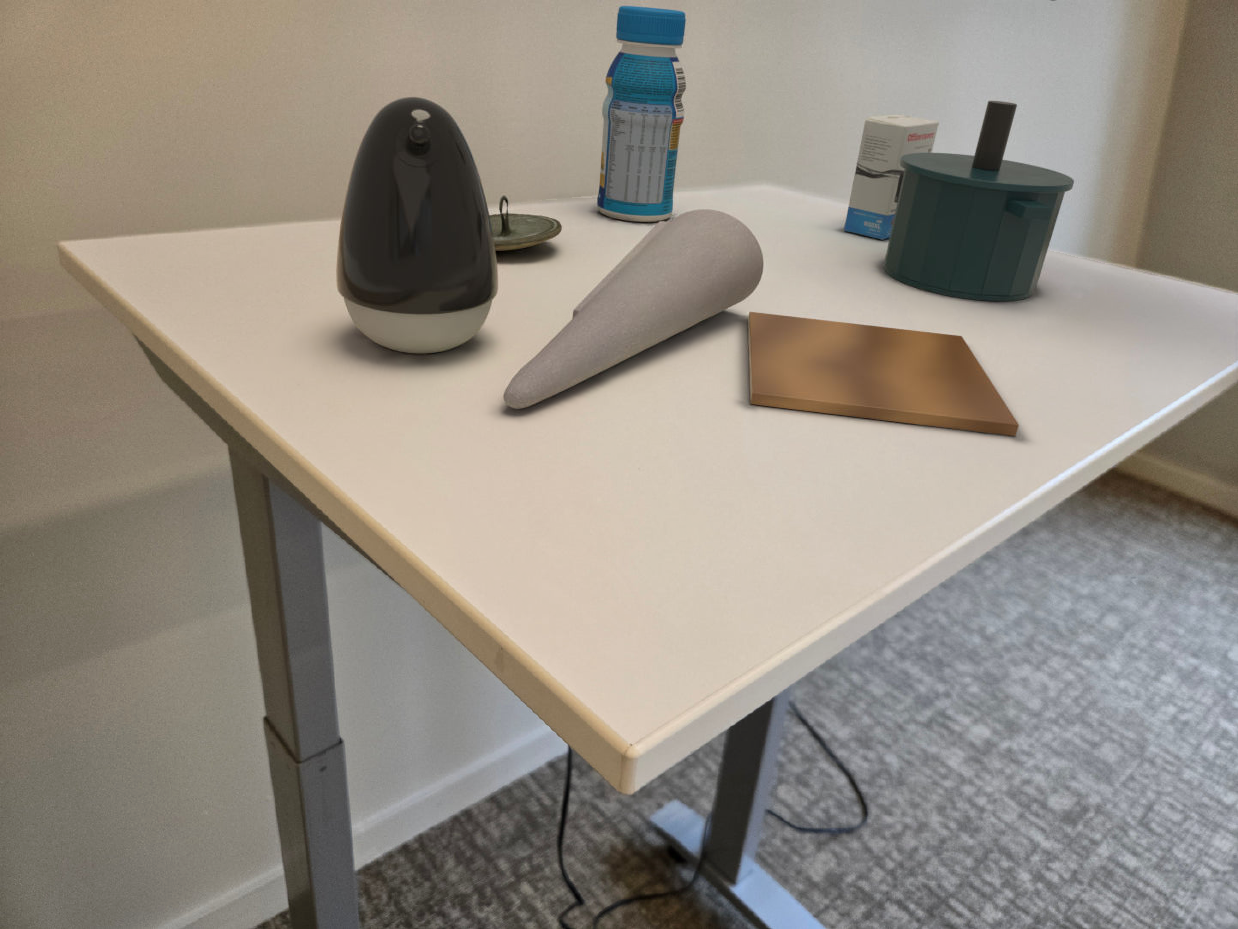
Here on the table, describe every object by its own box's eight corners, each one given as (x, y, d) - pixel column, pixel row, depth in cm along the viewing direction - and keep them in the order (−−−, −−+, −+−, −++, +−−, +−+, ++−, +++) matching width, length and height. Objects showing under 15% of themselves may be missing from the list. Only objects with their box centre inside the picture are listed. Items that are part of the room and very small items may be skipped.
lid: (574, 275, 83) (588, 219, 81) (477, 256, 76) (491, 195, 75) (517, 249, 90) (529, 198, 89) (424, 230, 84) (436, 175, 83)
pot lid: (1014, 170, 91) (1034, 97, 87) (1105, 204, 78) (1132, 120, 75) (873, 161, 88) (888, 86, 85) (943, 195, 75) (964, 108, 72)
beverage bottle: (621, 225, 94) (639, 8, 85) (581, 206, 101) (593, 2, 91) (688, 221, 99) (712, 14, 89) (645, 203, 105) (664, 8, 95)
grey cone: (639, 372, 48) (770, 220, 67) (492, 335, 50) (660, 199, 70) (630, 493, 52) (756, 317, 72) (495, 453, 54) (652, 293, 74)
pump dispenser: (337, 371, 56) (320, 104, 49) (342, 314, 65) (328, 81, 57) (506, 369, 58) (512, 115, 51) (488, 314, 67) (492, 91, 60)
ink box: (882, 241, 98) (907, 124, 92) (841, 230, 101) (863, 117, 95) (916, 230, 104) (942, 120, 98) (876, 221, 107) (899, 113, 101)
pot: (974, 253, 96) (999, 159, 92) (1080, 313, 80) (1117, 202, 75) (852, 248, 94) (871, 151, 90) (935, 308, 78) (963, 194, 73)
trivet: (959, 345, 70) (962, 335, 69) (1015, 436, 55) (1019, 424, 55) (747, 321, 71) (749, 311, 70) (750, 404, 56) (752, 392, 56)
